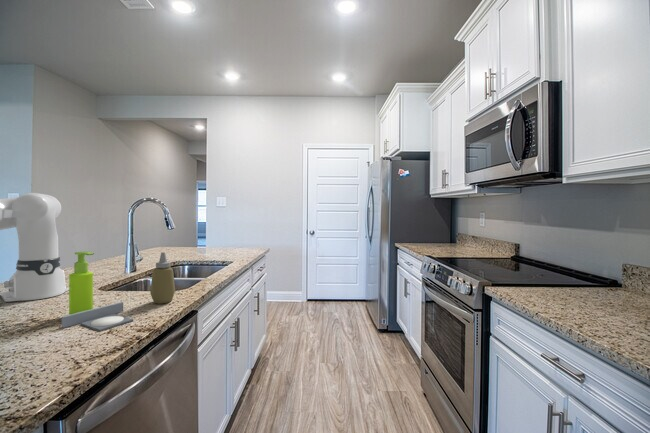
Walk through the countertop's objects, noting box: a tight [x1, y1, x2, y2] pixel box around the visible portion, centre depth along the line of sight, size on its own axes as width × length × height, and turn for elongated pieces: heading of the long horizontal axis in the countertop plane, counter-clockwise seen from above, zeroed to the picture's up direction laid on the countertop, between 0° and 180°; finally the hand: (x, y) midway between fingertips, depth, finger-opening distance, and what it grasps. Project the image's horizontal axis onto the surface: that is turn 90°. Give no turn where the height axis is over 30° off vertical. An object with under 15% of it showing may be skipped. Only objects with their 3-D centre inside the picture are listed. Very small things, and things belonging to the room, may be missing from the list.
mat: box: [80, 313, 134, 332], centre depth 89 cm, size 10×9×1 cm
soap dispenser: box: [68, 251, 95, 315], centre depth 96 cm, size 6×7×20 cm
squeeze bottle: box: [149, 251, 176, 305], centre depth 110 cm, size 8×8×18 cm
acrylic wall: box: [61, 301, 124, 329], centre depth 93 cm, size 1×16×3 cm, turn 153°
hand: (13, 213), depth 81 cm, fingers open, 8 cm apart
